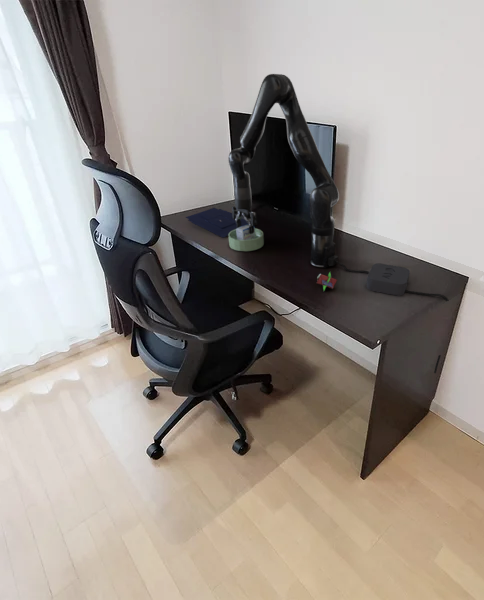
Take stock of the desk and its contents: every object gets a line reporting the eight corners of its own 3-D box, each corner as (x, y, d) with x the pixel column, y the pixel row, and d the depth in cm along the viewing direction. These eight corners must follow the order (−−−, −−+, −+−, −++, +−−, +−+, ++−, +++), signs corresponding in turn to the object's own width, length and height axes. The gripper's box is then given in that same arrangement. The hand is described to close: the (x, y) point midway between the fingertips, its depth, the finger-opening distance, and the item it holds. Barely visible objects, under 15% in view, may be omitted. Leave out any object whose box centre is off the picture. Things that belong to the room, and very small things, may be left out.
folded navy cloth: (216, 211, 212) (216, 205, 210) (255, 228, 199) (256, 222, 197) (182, 223, 195) (182, 216, 193) (222, 242, 182) (222, 236, 180)
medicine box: (244, 247, 171) (242, 230, 166) (237, 245, 173) (235, 228, 169) (255, 242, 176) (254, 225, 172) (249, 240, 179) (247, 223, 174)
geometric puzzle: (339, 279, 142) (328, 264, 139) (341, 288, 136) (329, 272, 133) (324, 289, 144) (312, 274, 141) (325, 298, 138) (313, 283, 135)
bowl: (270, 244, 176) (270, 233, 173) (245, 254, 165) (244, 243, 162) (247, 235, 185) (247, 225, 182) (222, 245, 174) (221, 234, 171)
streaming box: (372, 273, 151) (374, 262, 148) (408, 280, 147) (410, 268, 144) (364, 290, 140) (366, 278, 137) (403, 297, 135) (405, 285, 133)
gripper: (225, 195, 164) (229, 229, 173) (247, 201, 157) (249, 237, 165) (238, 191, 169) (241, 225, 178) (260, 198, 161) (261, 232, 170)
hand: (245, 231), depth 171 cm, fingers open, 8 cm apart
